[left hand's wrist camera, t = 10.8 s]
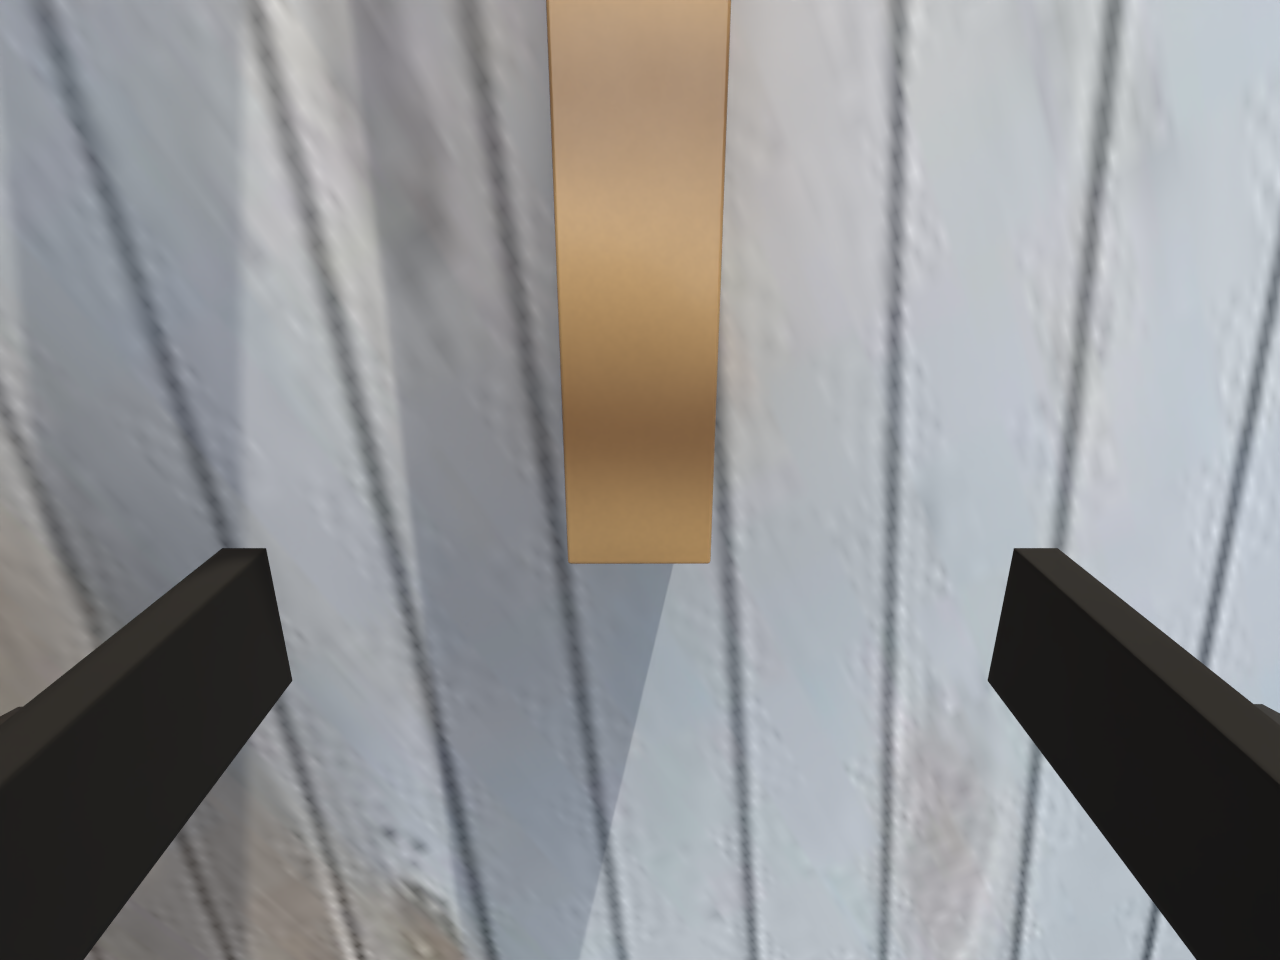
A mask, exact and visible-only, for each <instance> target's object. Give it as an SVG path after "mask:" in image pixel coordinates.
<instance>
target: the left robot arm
mask: <svg viewBox="0 0 1280 960" xmlns="http://www.w3.org/2000/svg"><path fill="white" fill-rule="evenodd" d="M291 682H292V677H291V671H290V666H289V661H288V656H287V651H286V646H285V641H284V636H283V631H282V626H281V621H280V616H279V611H278V606H277V601H276V596H275V591H274V586H273V581H272V576H271V571H270V566H269V561H268V556H267V551H266V548H222V549H221V550H220V551H218V552H217V553H216V554H215V555H213V556H212V557H211V558H210V559H208V560H207V561H206V562H205V563H203V564H202V565H201V566H200V567H198V568H197V569H196V570H194V571H193V572H192V573H191V574H189V575H188V576H187V577H186V578H184V579H183V580H182V581H181V582H179V583H178V584H177V585H176V586H174V587H173V588H172V589H171V590H169V591H168V592H167V593H166V594H164V595H163V596H162V597H161V598H159V599H158V600H157V601H156V602H154V603H153V604H152V605H151V606H149V607H148V608H147V609H145V610H144V611H143V612H142V613H140V614H139V615H138V616H137V617H135V618H134V619H133V620H132V621H130V622H129V623H128V624H127V625H125V626H124V627H123V628H122V629H120V630H119V631H118V632H117V633H115V634H114V635H113V636H112V637H110V638H109V639H108V640H107V641H105V642H104V643H103V644H102V645H100V646H99V647H98V648H96V649H95V650H94V651H93V652H91V653H90V654H89V655H88V656H86V657H85V658H84V659H83V660H81V661H80V662H79V663H78V664H76V665H75V666H74V667H73V668H71V669H70V670H69V671H68V672H66V673H65V674H64V675H63V676H61V677H60V678H59V679H58V680H56V681H55V682H54V683H53V684H51V685H50V686H49V687H47V688H46V689H45V690H44V691H42V692H41V693H40V694H39V695H37V696H36V697H35V698H34V699H32V700H31V701H30V702H29V703H27V704H26V705H25V706H24V707H17V708H15V709H14V710H12V711H10V712H8V713H6V714H4V715H2V716H0V960H84V958H85V957H86V956H87V954H88V953H89V952H90V950H91V949H92V948H93V946H94V945H95V944H96V942H97V941H98V940H99V938H100V937H101V936H102V934H103V933H104V932H105V930H106V929H107V928H108V926H109V925H110V924H111V922H112V921H113V920H114V918H115V917H116V916H117V914H118V913H119V912H120V910H121V909H122V908H123V906H124V905H125V904H126V902H127V901H128V900H129V898H130V897H131V896H132V894H133V893H134V892H135V890H136V889H137V888H138V886H139V885H140V883H141V882H142V881H143V879H144V878H145V877H146V875H147V874H148V873H149V871H150V870H151V869H152V867H153V866H154V865H155V863H156V862H157V861H158V859H159V858H160V857H161V855H162V854H163V853H164V851H165V850H166V849H167V847H168V846H169V845H170V843H171V842H172V841H173V839H174V838H175V837H176V835H177V834H178V833H179V831H180V830H181V829H182V827H183V826H184V825H185V823H186V822H187V821H188V819H189V818H190V817H191V815H192V814H193V813H194V811H195V810H196V809H197V807H198V806H199V805H200V803H201V802H202V801H203V799H204V798H205V797H206V795H207V794H208V793H209V791H210V790H211V789H212V787H213V786H214V785H215V783H216V782H217V781H218V779H219V778H220V777H221V775H222V774H223V773H224V771H225V770H226V769H227V767H228V766H229V765H230V763H231V762H232V761H233V759H234V758H235V757H236V755H237V754H238V753H239V751H240V750H241V749H242V747H243V746H244V745H245V743H246V742H247V740H248V739H249V738H250V736H251V735H252V734H253V732H254V731H255V730H256V728H257V727H258V726H259V724H260V723H261V722H262V720H263V719H264V718H265V716H266V715H267V714H268V712H269V711H270V710H271V708H272V707H273V706H274V704H275V703H276V702H277V700H278V699H279V698H280V696H281V695H282V694H283V692H284V691H285V690H286V688H287V687H288V686H289V684H290V683H291ZM988 682H989V683H990V684H991V686H992V687H993V688H994V690H995V691H996V692H997V694H998V695H999V696H1000V698H1001V699H1002V700H1003V702H1004V703H1005V704H1006V706H1007V707H1008V708H1009V710H1010V711H1011V712H1012V714H1013V715H1014V716H1015V718H1016V719H1017V720H1018V722H1019V723H1020V724H1021V726H1022V727H1023V728H1024V730H1025V731H1026V732H1027V734H1028V735H1029V736H1030V738H1031V739H1032V740H1033V742H1034V743H1035V745H1036V746H1037V747H1038V749H1039V750H1040V751H1041V753H1042V754H1043V755H1044V757H1045V758H1046V759H1047V761H1048V762H1049V763H1050V765H1051V766H1052V767H1053V769H1054V770H1055V771H1056V773H1057V774H1058V775H1059V777H1060V778H1061V779H1062V781H1063V782H1064V783H1065V785H1066V786H1067V787H1068V789H1069V790H1070V791H1071V793H1072V794H1073V795H1074V797H1075V798H1076V799H1077V801H1078V802H1079V803H1080V805H1081V806H1082V807H1083V809H1084V810H1085V811H1086V813H1087V814H1088V815H1089V817H1090V818H1091V819H1092V821H1093V822H1094V823H1095V825H1096V826H1097V827H1098V829H1099V830H1100V831H1101V833H1102V834H1103V835H1104V837H1105V838H1106V839H1107V841H1108V842H1109V843H1110V845H1111V846H1112V847H1113V849H1114V850H1115V851H1116V853H1117V854H1118V855H1119V857H1120V858H1121V859H1122V861H1123V862H1124V863H1125V865H1126V866H1127V867H1128V869H1129V870H1130V871H1131V873H1132V874H1133V875H1134V877H1135V878H1136V879H1137V881H1138V882H1139V883H1140V885H1141V886H1142V888H1143V889H1144V890H1145V892H1146V893H1147V894H1148V896H1149V897H1150V898H1151V900H1152V901H1153V902H1154V904H1155V905H1156V906H1157V908H1158V909H1159V910H1160V912H1161V913H1162V914H1163V916H1164V917H1165V918H1166V920H1167V921H1168V922H1169V924H1170V925H1171V926H1172V928H1173V929H1174V930H1175V932H1176V933H1177V934H1178V936H1179V937H1180V938H1181V940H1182V941H1183V942H1184V944H1185V945H1186V946H1187V948H1188V949H1189V950H1190V952H1191V953H1192V954H1193V956H1194V957H1195V958H1196V960H1280V713H1278V712H1276V711H1274V710H1272V709H1270V708H1268V707H1266V706H1265V705H1263V704H1253V703H1251V702H1250V701H1249V700H1248V699H1246V698H1245V697H1244V696H1243V695H1241V694H1240V693H1239V692H1238V691H1236V690H1235V689H1234V688H1233V687H1231V686H1230V685H1229V684H1227V683H1226V682H1225V681H1224V680H1222V679H1221V678H1220V677H1219V676H1217V675H1216V674H1215V673H1214V672H1212V671H1211V670H1210V669H1209V668H1207V667H1206V666H1205V665H1204V664H1202V663H1201V662H1200V661H1199V660H1197V659H1196V658H1195V657H1194V656H1192V655H1191V654H1190V653H1189V652H1187V651H1186V650H1185V649H1184V648H1182V647H1181V646H1180V645H1178V644H1177V643H1176V642H1175V641H1173V640H1172V639H1171V638H1170V637H1168V636H1167V635H1166V634H1165V633H1163V632H1162V631H1161V630H1160V629H1158V628H1157V627H1156V626H1155V625H1153V624H1152V623H1151V622H1150V621H1148V620H1147V619H1146V618H1145V617H1143V616H1142V615H1141V614H1140V613H1138V612H1137V611H1136V610H1135V609H1133V608H1132V607H1131V606H1129V605H1128V604H1127V603H1126V602H1124V601H1123V600H1122V599H1121V598H1119V597H1118V596H1117V595H1116V594H1114V593H1113V592H1112V591H1111V590H1109V589H1108V588H1107V587H1106V586H1104V585H1103V584H1102V583H1101V582H1099V581H1098V580H1097V579H1096V578H1094V577H1093V576H1092V575H1091V574H1089V573H1088V572H1087V571H1086V570H1084V569H1083V568H1082V567H1080V566H1079V565H1078V564H1077V563H1075V562H1074V561H1073V560H1072V559H1070V558H1069V557H1068V556H1067V555H1065V554H1064V553H1063V552H1062V551H1060V550H1059V549H1058V548H1014V551H1013V556H1012V561H1011V566H1010V571H1009V576H1008V581H1007V586H1006V591H1005V596H1004V601H1003V606H1002V611H1001V616H1000V621H999V626H998V631H997V636H996V641H995V646H994V651H993V656H992V661H991V666H990V671H989V677H988Z"/></svg>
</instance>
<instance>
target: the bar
mask: <svg viewBox="0 0 1280 960" xmlns="http://www.w3.org/2000/svg"><path fill="white" fill-rule="evenodd" d="M546 10H547V36H548V62H549V87H550V113H551V138H552V164H553V189H554V215H555V240H556V266H557V292H558V317H559V343H560V368H561V394H562V419H563V445H564V470H565V496H566V521H567V547H568V562H569V563H571V564H643V563H709V562H710V557H711V530H712V503H713V476H714V449H715V422H716V395H717V368H718V341H719V314H720V287H721V260H722V233H723V206H724V178H725V151H726V124H727V97H728V70H729V43H730V16H731V0H546Z"/></svg>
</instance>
